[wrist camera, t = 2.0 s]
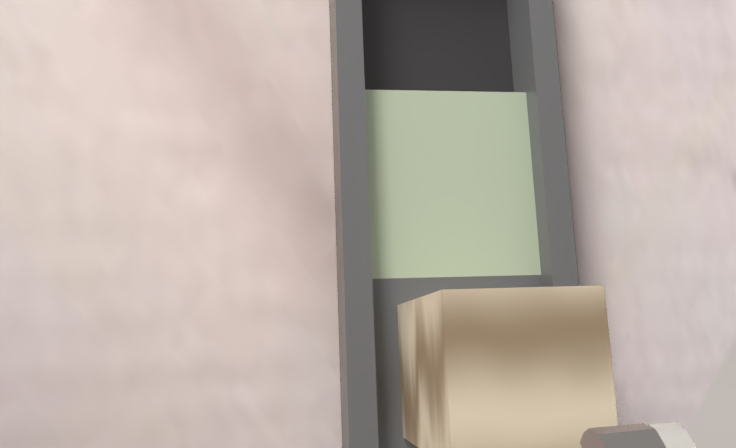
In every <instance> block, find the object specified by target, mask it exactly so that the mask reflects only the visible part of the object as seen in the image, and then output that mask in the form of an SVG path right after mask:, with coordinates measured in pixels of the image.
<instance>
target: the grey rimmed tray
mask: <svg viewBox="0 0 736 448" xmlns="http://www.w3.org/2000/svg"><path fill="white" fill-rule="evenodd" d="M329 8H330V42H331V76H332V110H333V144H334V178H335V212H336V246H337V280H338V314H339V348H340V382H341V416H342V448H418V447H416V446H415V445H414V444H412V443H411V442H409V441H408V440H406V439H405V438H403V424H402V402H401V379H400V357H399V335H398V313H397V305H399V304H402V303H405V302H408V301H411V300H414V299H416V298H419V297H422V296H425V295H428V294H431V293H434V292H436V291H439V290H443V289H481V288H519V287H557V286H579V281H578V271H577V260H576V249H575V238H574V228H573V217H572V206H571V195H570V185H569V174H568V163H567V152H566V142H565V131H564V120H563V109H562V99H561V88H560V77H559V66H558V55H557V45H556V34H555V23H554V12H553V2H552V0H329Z"/></svg>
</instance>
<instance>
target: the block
mask: <svg viewBox="0 0 736 448" xmlns="http://www.w3.org/2000/svg"><path fill="white" fill-rule="evenodd" d="M397 313H398V335H399V357H400V379H401V402H402V424H403V438H405V439H406V440H408V441H409V442H411V443H412V444H414V445H415V446H416V447H418V448H582V446H581V444H580V440H581V438H582V435H583V433H584V432H585V431H586V430H588V429H589V428H596V427H608V426H618V420H617V410H616V400H615V390H614V379H613V369H612V359H611V349H610V339H609V329H608V319H607V309H606V299H605V289H604V285H595V286H557V287H519V288H481V289H443V290H439V291H436V292H434V293H431V294H428V295H425V296H422V297H419V298H416V299H414V300H411V301H408V302H405V303H402V304H399V305H397Z"/></svg>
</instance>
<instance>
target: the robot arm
mask: <svg viewBox="0 0 736 448" xmlns="http://www.w3.org/2000/svg"><path fill="white" fill-rule="evenodd" d="M580 444H581V446H582V448H697V447H696V445H695V444H694V442H693V441H692V439H691V437H690V436H689V434H688V433H687V431H686V430H685V428H684V427H683V426H681V425H680V424H679V423H678V422H667V423H656V424H644V423H643V424H632V425H620V426H608V427H596V428H589V429H588V430H586V431H585V432H584V433H583V435H582V438H581V440H580Z"/></svg>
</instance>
